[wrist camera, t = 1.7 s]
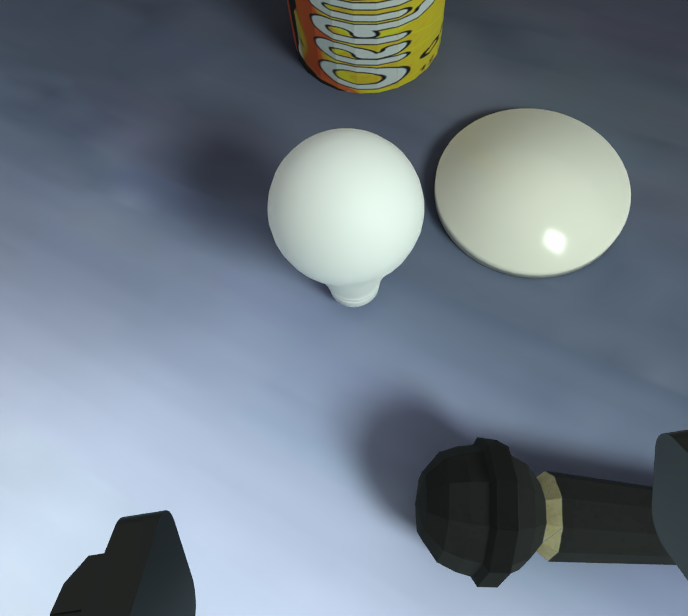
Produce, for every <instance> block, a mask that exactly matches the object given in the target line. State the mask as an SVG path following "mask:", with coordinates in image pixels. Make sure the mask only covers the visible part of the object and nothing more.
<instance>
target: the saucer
mask: <svg viewBox="0 0 688 616" xmlns="http://www.w3.org/2000/svg"><path fill="white" fill-rule="evenodd" d="M434 199H435V205H436V210H437V213H438V216H439V219H440V221H441V223H442V225H443V227H444V229H445V231H446V232H447V234H448V235H449V237H450V238H451V239H452V241H453V242H454V243H455V244H456V245H457V246H458V247H459V248H460V249H461V250H462V251H463V252H464V253H465V254H467V255H468V256H469V257H471V258H472V259H474V260H475V261H476V262H478V263H480V264H482V265H484V266H486V267H487V268H489V269H492V270H495V271H497V272H500V273H503V274H507V275H511V276H515V277H522V278H539V279H541V278H552V277H557V276H562V275H566V274H569V273H572V272H575V271H578V270H580V269H582V268H584V267H585V266H587V265H589V264H591V263H592V262H594V261H595V260H596V259H598V258H599V257H600V256H601V255H602V254H603V253H604V252H605V251H607V249H608V248H609V247H610V246H611V244H612V243H613V242H614V240H615V239H616V238H617V236H618V235H619V233H620V232H621V230H622V228H623V226H624V224H625V222H626V219H627V216H628V214H629V208H630V203H631V190H630V183H629V178H628V175H627V172H626V169H625V167H624V165H623V163H622V161H621V159H620V157H619V156H618V154H617V153H616V151H615V150H614V149H613V148H612V146H611V145H610V144H609V143H608V142H607V141H606V140H605V139H604V138H603V137H602V136H601V135H600V134H599V133H597V132H596V131H594V130H593V129H592V128H590V127H589V126H587V125H585V124H584V123H582V122H580V121H578V120H576V119H574V118H571V117H569V116H566V115H563V114H560V113H557V112H553V111H548V110H542V109H511V110H505V111H500V112H496V113H493V114H490V115H487V116H485V117H482V118H480V119H478V120H476V121H474V122H473V123H471V124H470V125H468V126H466V127H465V128H464V129H463V130H461V131H460V132H459V133H458V134H457V135H456V136H455V137H454V138H453V139H452V140H451V141H450V143H449V144H448V146H447V147H446V149H445V150H444V152H443V154H442V156H441V158H440V161H439V164H438V167H437V172H436V179H435V187H434Z"/></svg>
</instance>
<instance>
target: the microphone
mask: <svg viewBox="0 0 688 616" xmlns="http://www.w3.org/2000/svg"><path fill="white" fill-rule="evenodd" d="M652 495H653V487H648V486H642V485H635V484H628V483H622V482H615V481H608V480H601V479H595V478H588V477H581V476H575V475H568V474H561V473H555V472H548V471H544V472H543V473H541V474H540V475H538V476H537V477H535V475H534V474H533V472H532V471H531V470H530V468H529V467H528V465H526V464H525V463H523V462H521V461H519V460H518V459H516V458H514V457H513V456H511V455H510V451H509V447H508V446H506V445H504V444H502V443H500V442H498V441H497V440H492V439H485V438H478V437H477V439H476V441H475V443H474V444H473V445H468V446H459V447H454V448H451V449H448V450H445V451H442V452H439V453H438V454H437V455H436V457H435V458H434V459H433V460H432V461H431V462H430V464H429V465H428V466H427V467H426V468H425V469H424V471H423V472H422V474H421V476H420V478H419V482H418V489H417V496H416V503H415V507H416V524H417V532H418V534H419V536H420V538H421V539H422V541H423V542H424V544H425V545H426V547H427V548H428V550H429V551H430V553H431V554H432V556H433V557H434V559H435V560H436V562H438V563H440V564H441V565H443V566H445V567H447V568H449V569H451V570H453V571H455V572H458V573H461V574H464V575H468V576H471V578H472V580H473V581H474V583H475V584H476V586H477V587H498V586H499V585H500V584H501V583H502V582H503V581H504V580H505V579H506V578H507V577H508V576H509V575H510V574H511V573H513V572H515V571H517V570H519V569H520V568H521V567H522V566H523V565H524V564H525V563H526V562H527V561H528V560H529V559H530V558H531V557H532V555H533V554H534V553H535V552H536V551H537V552H538V553H539V554H540V555H541V556H543V557H544V558H545V559H546V560H547V561H548V562H586V563H625V564H663V565H676V563H675V562H674V561H673V559H672V558H671V557H670V555H669V554H668V553H667V551H666V550H665V548H664V547H663V545H662V543H661V541H660V539H659V537H658V534H657V532H656V529H655V526H654V522H653V517H652Z"/></svg>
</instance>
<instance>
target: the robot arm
mask: <svg viewBox="0 0 688 616" xmlns="http://www.w3.org/2000/svg"><path fill="white" fill-rule="evenodd" d="M652 517H653V522H654V526H655V529H656V532H657V534H658V537H659V539H660V541H661V543H662V545H663V547H664V548H665V550H666V551H667V553H668V554H669V555H670V557H671V558H672V559H673V561H674V562H675V563H676V565H677V566H678V568H679V569H680V570H681V572H682V573H683V574H684V576H685V577H686V579H687V580H688V430H683V431H676V432H670V433H664V434H661V435H659V436H658V438H657V441H656V446H655V461H654V478H653V495H652ZM195 611H196V599H195V589H194V583H193V579H192V575H191V572H190V569H189V566H188V563H187V560H186V556H185V553H184V550H183V547H182V544H181V541H180V537H179V534H178V531H177V528H176V525H175V522H174V519H173V517H172V515H171V513H170V512H169V511H167V510H165V511H159V512H152V513H146V514H139V515H133V516H127V517H122V518H120V519H119V520H118V522H117V523H116V525H115V528H114V530H113V533H112V535H111V538H110V540H109V543H108V545H107V548H106V550H105V553H104V554H97V555H91V556H88V557H87V558H86V559H85V560H84V562H83V563H82V564H81V565H80V566H79V567H78V568H77V569H76V571H75V572H74V573H73V574H72V575H71V576H70V577H69V578H68V580H67V581H66V582H65V583H64V584H63V587H62V589H61V591H60V593H59V595H58V598H57V600H56V602H55V604H54V606H53V609H52V611H51V613H50V616H195Z"/></svg>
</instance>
